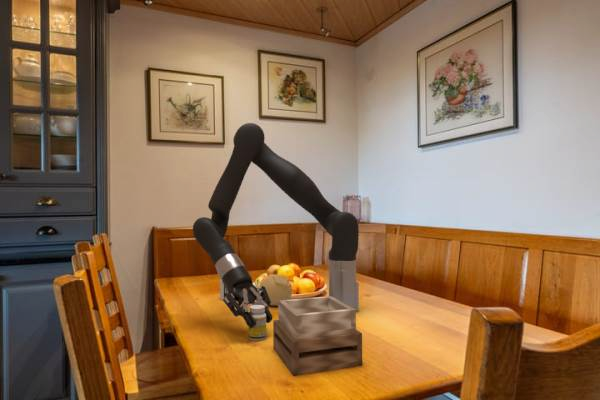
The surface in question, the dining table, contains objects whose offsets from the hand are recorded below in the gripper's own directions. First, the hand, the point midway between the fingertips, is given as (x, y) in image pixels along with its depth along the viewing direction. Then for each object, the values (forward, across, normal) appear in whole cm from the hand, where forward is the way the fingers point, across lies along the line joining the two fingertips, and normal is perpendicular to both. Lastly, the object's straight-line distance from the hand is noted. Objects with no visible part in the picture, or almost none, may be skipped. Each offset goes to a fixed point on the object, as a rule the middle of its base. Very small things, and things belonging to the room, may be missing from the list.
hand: (262, 323), depth 101 cm
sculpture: (-13, +29, +20) cm, 37 cm away
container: (-27, +24, +33) cm, 49 cm away
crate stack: (+16, 0, -10) cm, 18 cm away
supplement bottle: (+2, 0, +4) cm, 5 cm away
